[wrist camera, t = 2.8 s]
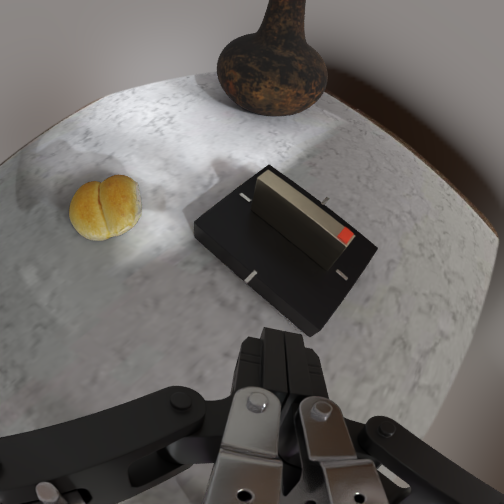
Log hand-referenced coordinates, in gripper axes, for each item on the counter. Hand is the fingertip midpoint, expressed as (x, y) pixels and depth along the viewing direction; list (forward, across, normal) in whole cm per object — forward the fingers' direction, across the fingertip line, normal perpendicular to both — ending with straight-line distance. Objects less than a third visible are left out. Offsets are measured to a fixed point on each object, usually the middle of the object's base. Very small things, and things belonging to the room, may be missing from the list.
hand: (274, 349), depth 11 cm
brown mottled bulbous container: (+42, +5, -18) cm, 46 cm away
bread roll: (+21, +19, +2) cm, 29 cm away
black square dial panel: (+22, -2, +1) cm, 22 cm away
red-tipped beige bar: (+19, -2, -1) cm, 19 cm away
